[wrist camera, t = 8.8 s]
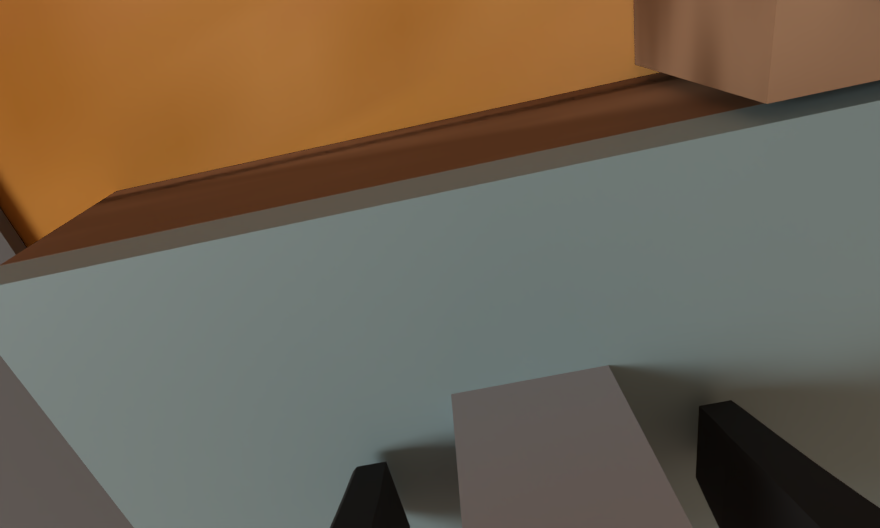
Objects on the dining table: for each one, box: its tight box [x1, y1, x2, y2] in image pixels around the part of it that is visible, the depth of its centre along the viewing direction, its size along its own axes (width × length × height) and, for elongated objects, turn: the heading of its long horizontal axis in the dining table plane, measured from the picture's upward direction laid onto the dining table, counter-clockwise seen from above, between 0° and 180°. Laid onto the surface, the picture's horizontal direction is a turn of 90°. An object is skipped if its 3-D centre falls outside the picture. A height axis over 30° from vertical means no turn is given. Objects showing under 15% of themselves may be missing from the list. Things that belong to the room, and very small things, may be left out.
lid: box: [0, 80, 880, 528], centre depth 9 cm, size 12×18×5 cm, turn 102°
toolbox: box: [0, 0, 880, 266], centre depth 11 cm, size 21×18×5 cm
